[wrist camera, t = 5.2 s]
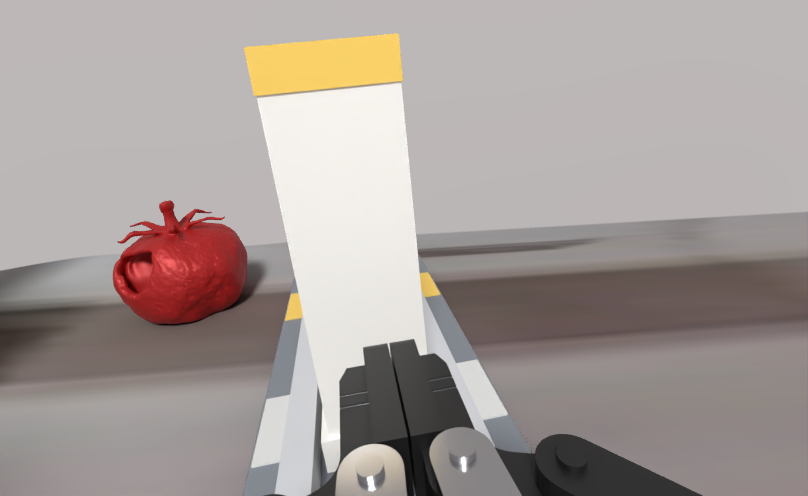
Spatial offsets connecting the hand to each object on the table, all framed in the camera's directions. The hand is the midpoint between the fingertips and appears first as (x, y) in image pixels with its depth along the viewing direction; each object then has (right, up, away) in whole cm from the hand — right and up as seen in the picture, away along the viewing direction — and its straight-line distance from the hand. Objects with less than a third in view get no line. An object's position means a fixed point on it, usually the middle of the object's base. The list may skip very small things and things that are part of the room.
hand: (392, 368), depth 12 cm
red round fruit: (-18, -2, +23) cm, 29 cm away
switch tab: (-1, -4, +6) cm, 7 cm away
